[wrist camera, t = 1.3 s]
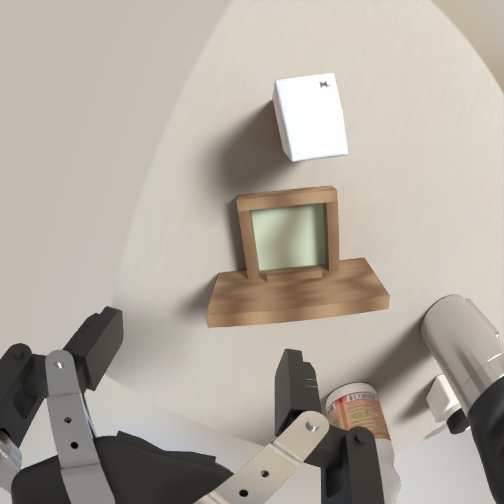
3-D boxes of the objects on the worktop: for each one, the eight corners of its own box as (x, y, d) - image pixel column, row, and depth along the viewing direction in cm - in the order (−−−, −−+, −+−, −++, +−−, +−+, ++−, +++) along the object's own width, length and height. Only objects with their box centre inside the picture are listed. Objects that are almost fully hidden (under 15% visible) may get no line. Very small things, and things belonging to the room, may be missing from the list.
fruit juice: (365, 373, 42) (405, 528, 16) (381, 397, 45) (416, 528, 19) (315, 396, 44) (330, 548, 19) (337, 417, 47) (355, 547, 21)
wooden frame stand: (363, 183, 30) (395, 202, 22) (363, 268, 34) (388, 308, 26) (205, 199, 32) (183, 224, 24) (221, 283, 36) (208, 327, 28)
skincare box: (270, 98, 27) (273, 77, 16) (310, 93, 27) (335, 70, 16) (281, 152, 30) (290, 163, 19) (320, 146, 29) (351, 155, 18)
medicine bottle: (425, 398, 45) (443, 442, 34) (436, 375, 42) (459, 421, 31) (451, 390, 45) (471, 431, 34) (463, 367, 42) (487, 409, 31)
